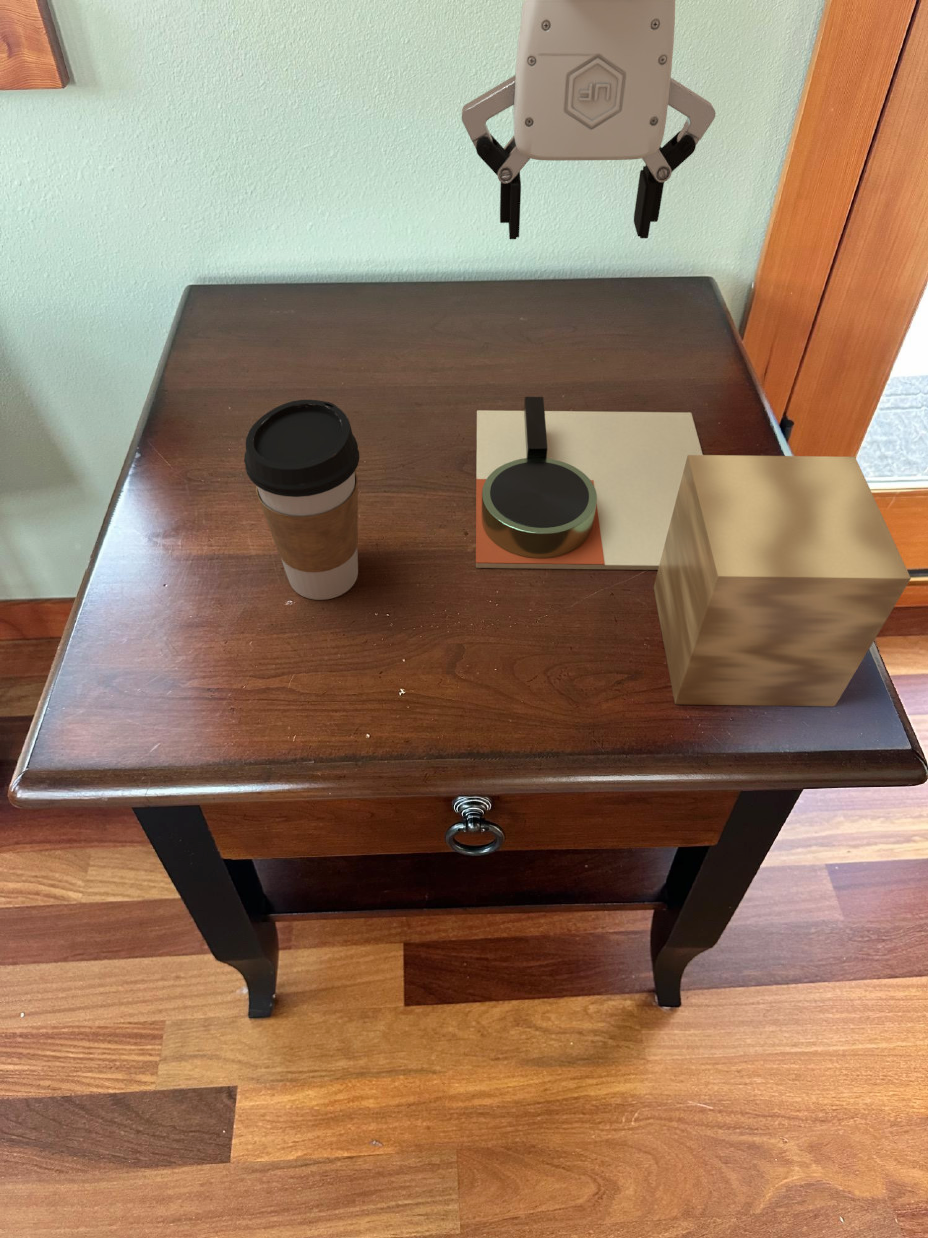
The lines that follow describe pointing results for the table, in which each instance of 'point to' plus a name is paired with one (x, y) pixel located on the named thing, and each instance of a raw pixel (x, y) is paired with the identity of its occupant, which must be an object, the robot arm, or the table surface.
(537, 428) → the pan
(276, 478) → the coffee cup
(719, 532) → the block
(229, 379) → the table surface
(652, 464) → the mat
